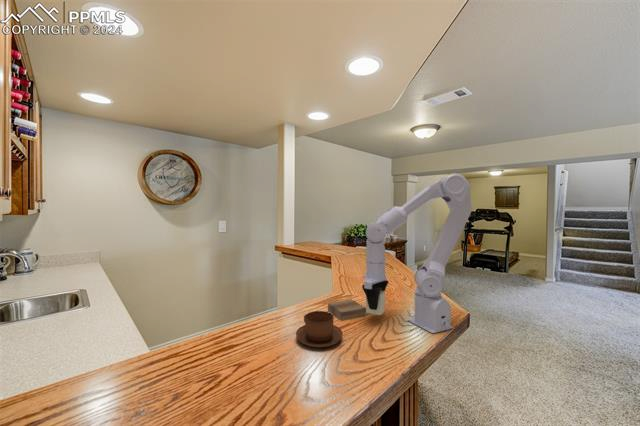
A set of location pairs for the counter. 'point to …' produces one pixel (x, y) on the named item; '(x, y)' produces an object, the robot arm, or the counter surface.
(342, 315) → the walnut slab
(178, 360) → the counter surface
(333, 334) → the cup and saucer
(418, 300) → the robot arm
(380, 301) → the sage block
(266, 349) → the counter surface
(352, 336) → the counter surface
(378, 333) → the counter surface
